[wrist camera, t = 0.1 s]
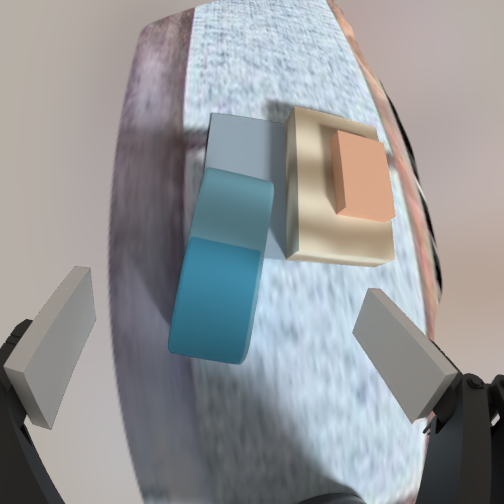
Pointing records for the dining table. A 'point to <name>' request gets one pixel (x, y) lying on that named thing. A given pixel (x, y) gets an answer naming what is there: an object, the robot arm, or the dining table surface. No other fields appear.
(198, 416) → the dining table surface
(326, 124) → the plate
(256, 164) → the mat
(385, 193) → the salmon orange flat block
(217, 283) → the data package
